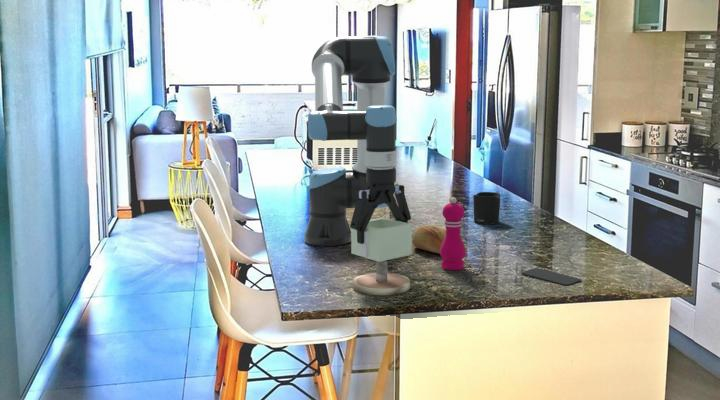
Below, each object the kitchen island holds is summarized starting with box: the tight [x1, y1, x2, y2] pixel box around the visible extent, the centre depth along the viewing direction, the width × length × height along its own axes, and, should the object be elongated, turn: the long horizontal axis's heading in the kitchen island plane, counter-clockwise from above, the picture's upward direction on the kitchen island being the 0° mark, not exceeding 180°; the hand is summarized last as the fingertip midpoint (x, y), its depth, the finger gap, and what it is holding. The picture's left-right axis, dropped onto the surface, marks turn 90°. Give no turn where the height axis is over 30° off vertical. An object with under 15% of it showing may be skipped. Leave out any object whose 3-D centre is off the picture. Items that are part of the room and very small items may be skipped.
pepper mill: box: [439, 197, 466, 271], centre depth 220 cm, size 7×7×20 cm
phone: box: [521, 267, 582, 287], centre depth 211 cm, size 7×1×15 cm
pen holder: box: [472, 191, 501, 225], centre depth 278 cm, size 9×9×10 cm
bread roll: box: [412, 224, 446, 255], centre depth 239 cm, size 10×15×8 cm, turn 37°
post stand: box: [352, 260, 411, 296], centre depth 204 cm, size 15×15×8 cm
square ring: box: [350, 216, 413, 262], centre depth 202 cm, size 11×11×8 cm
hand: (381, 251), depth 203 cm, fingers closed on square ring, 11 cm apart
